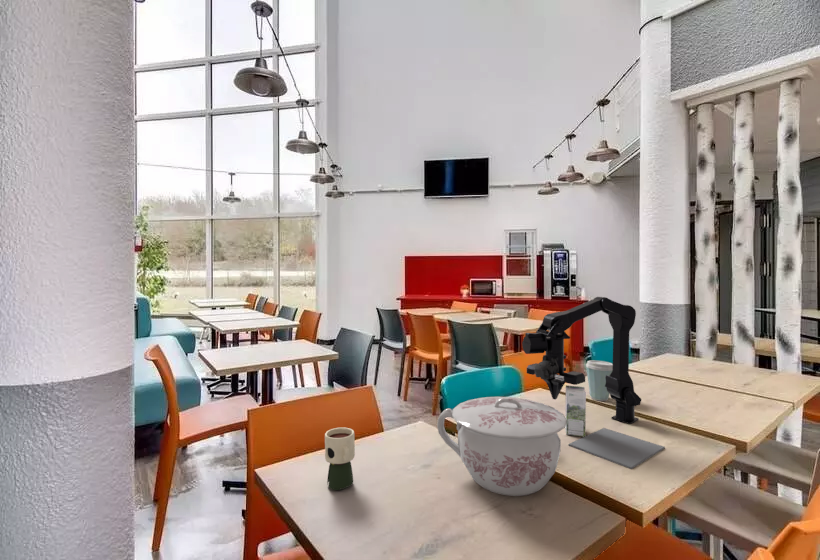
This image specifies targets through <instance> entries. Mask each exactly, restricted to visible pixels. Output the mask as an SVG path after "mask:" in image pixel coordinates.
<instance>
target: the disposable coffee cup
mask: <svg viewBox="0 0 820 560" xmlns="http://www.w3.org/2000/svg"><path fill="white" fill-rule="evenodd" d="M585 367H586V374H587V382H588V383H587V384H588V389H589V396H590V398H591V399H592V400H594V401H599V402H606V401H608V399H609V398H610V394H609V392H608V391H607V388H606V387H605V384H606V378H605V377H606V375H607V376H610V374H611V373H612V370H613V362H609V361H605V360H594V359H593V360H587V361H586V364H585Z"/></svg>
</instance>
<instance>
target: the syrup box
mask: <svg viewBox="0 0 820 560" xmlns="http://www.w3.org/2000/svg"><path fill="white" fill-rule="evenodd" d="M586 403H587V393H586V389H585V387H584V386H578V385H565V418H566V420H567V424H566V426H565V428H564V429H565V434H566V435H567V436H573V437H575V436H576V437H581V436H582V437H581V438H583V437H585V436H586V416H587V414H586V412H587V411H586V410H587V409H586V407H587V405H586Z"/></svg>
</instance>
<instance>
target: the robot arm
mask: <svg viewBox="0 0 820 560" xmlns="http://www.w3.org/2000/svg"><path fill="white" fill-rule="evenodd" d="M599 312H602V313H604V314H606V315H608V322H609V324H610V326H611V328H612V334H613V335H612V339H613V340H612V364H613V370H612V373H611V374H610V376H607V375H606V377H605V378H606V384H605V387H606V388H607V391H608V392H609V397H610V398H611V400H615V415H613V416H611V417H610V418H611V420H616V421H619V422H622V423H626V424H628V425H629V424H630V425H631V424H633V423H635V422H637V421H639V420H640V419H639V417H635V407H637V406H640V405H641V403H642V398H641V397H640V396H639V395H638V394H637V393H636V392H635V386H634V382H633V378H631V375H630V373H629V371H630V370H629V366H630V365H629V364H630V359H629V358H630V332H631V329H632V328H633V327H634V325H635V322H636V315H637V311H636V309H635V308H634V307H633V306H631V305H628V304H623V303H619V302H618V301H614V300H612V299H610V298H608V297H605V296H604V297H603V296H596V297H594V298H593V299H591V300H589V301H588V300H587V301H586V302H584V303H582V304H579V305H577V306H574V307H571V308H570V309H567V310H563V311H556V312H552V313H547V314H546V315H545V316H543V320H542V322H541V323H540V325H539V327H538V328H537V330H536V331H535V332H525V335H524V337H523V339H522V342H521V346H522V350H523V353H524V354H526V355H530V354H531V355H533V354H543V355H542V360H541V361H540V362H539V363H538V362H535V363H532V364H529V365H527V367H526V374H528V375H534V376H535V377H536V378H540V379H541V380H543V381H544V382H545V383H546V385H547V387H548V390H549V393H550V395H551V399H552V400H557V399H558V397H559V395H560V393H561V390H562V388H563V387H564V386H565V384H570V385H572V386H578V385H579V384H580V385H581V384H583V383H586V375H585V374H584V373H583V372H580V371H574V370H572V371H569V372H568V371H567V367H565V363H564V362H565V359H567V355H565V352H564V351H565V340H569V339H571V337H570V335H568V334H567V333H566V331H567V330H569V329H571V327H572V326H573V324H575V323H576V322H578V321H581V320H583V319H585V318H587V317H590V316H592V315H594V314H596V313H599ZM566 371H567V372H566Z"/></svg>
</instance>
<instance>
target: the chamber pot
mask: <svg viewBox="0 0 820 560" xmlns="http://www.w3.org/2000/svg"><path fill="white" fill-rule="evenodd" d="M446 418H452V419H454V421H455V422H456V430H457V442H456V441H454V440H453V439H452V438H451V437H450V435H449V434H448V432H447V431H446V429H445V420H446ZM566 424H567V420H566V415H564V414H563V412H560V411H559V410H558V409H557V408H555V407H553V406H550V405H548V404H545V403H543V402H539V401H535V400H530V399H528V398H520V397H513V396H486V397H478V398H474V399H473V398H472V399H468V400H466V401H463V402H460V403H459V404H457V405H456V406H455V407H454V408H445V409H444V410H443V411H442V412H440V414H439V415H438V418H437V424H436V426H437V432H438V435H439V436H440V438H441V439H442V440H443V441H444V443H445V444H446V445H447V446H448V447H450V449H452V450H453V451H454V452H455V453H456V455H458V457H459V458H460V460H461V461H462V463H463V465H464V466H465V468H466V470H467V471H468V473H469V475H470V476H471V479H472V480H473V481H474V482H475V483H476V484H478V485H479V486H480V487H481V488H483V489H484V490H487V491H489V492H492V493H494V494H497V495H503V496H510V497H511V496H512V497H517V496H518V497H520V496H529V495H532V494H535V493H538V491H540V490H541V489H542V488H544V487H546V485H547V484H548V482H549V481H550V480H551V478H552V477H553V475H554V474H555V473H556V470H557V468H558V463H559V459H560V454H561V447H562V446H561V438H560V436H559V434H558V433H559V432H561V431H562V430H564V429H566V428H565V426H566Z"/></svg>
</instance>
